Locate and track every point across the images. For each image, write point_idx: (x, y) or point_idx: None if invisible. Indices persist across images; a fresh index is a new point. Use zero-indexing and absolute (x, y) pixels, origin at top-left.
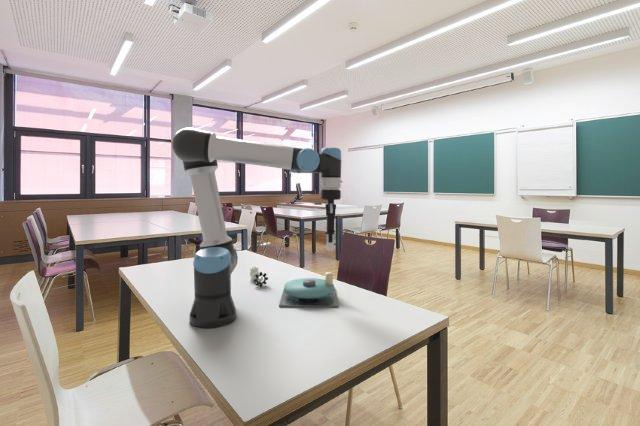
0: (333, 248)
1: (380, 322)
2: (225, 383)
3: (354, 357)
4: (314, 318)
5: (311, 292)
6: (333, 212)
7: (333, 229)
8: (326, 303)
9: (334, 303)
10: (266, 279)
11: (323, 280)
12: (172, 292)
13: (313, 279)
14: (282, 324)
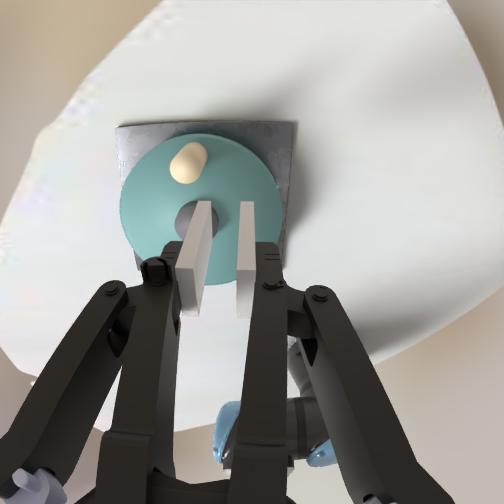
0: (253, 210)
1: (399, 40)
2: (482, 296)
3: (500, 151)
4: (360, 193)
5: (274, 214)
6: (424, 481)
7: (343, 316)
8: (275, 157)
9: (276, 133)
10: None
11: (138, 174)
12: (203, 406)
13: (133, 208)
14: (375, 257)
